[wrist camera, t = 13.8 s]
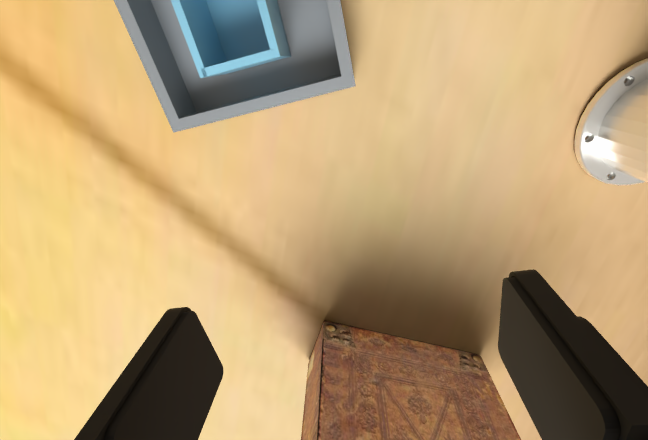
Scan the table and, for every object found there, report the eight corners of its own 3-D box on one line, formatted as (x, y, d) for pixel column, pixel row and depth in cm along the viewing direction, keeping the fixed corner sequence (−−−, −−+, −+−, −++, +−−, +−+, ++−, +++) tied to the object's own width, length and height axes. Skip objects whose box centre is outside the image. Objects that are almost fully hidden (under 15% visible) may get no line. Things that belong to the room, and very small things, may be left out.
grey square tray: (308, -161, 23) (302, -212, 19) (352, 81, 31) (355, 86, 26) (109, -86, 26) (61, -116, 21) (195, 122, 33) (173, 132, 29)
